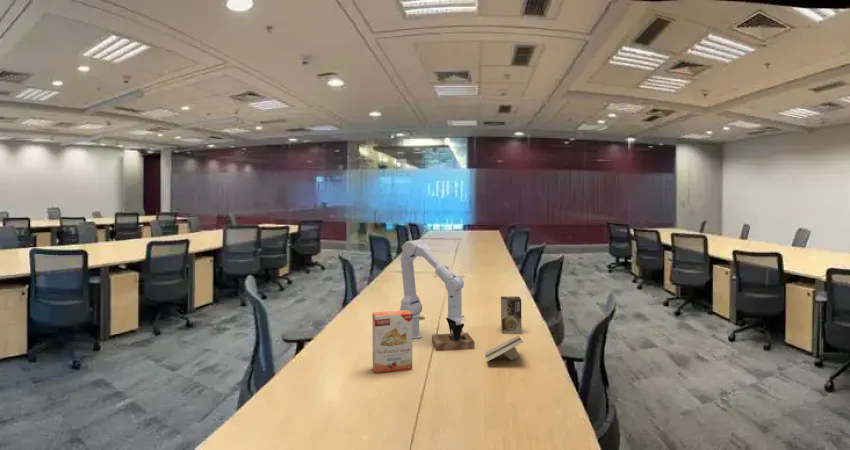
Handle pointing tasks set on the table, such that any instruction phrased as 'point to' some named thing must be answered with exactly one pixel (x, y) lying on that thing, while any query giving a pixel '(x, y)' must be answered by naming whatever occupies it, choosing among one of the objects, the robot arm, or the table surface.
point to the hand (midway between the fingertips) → (454, 336)
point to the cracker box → (392, 341)
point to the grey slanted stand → (505, 349)
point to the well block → (452, 342)
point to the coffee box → (511, 315)
